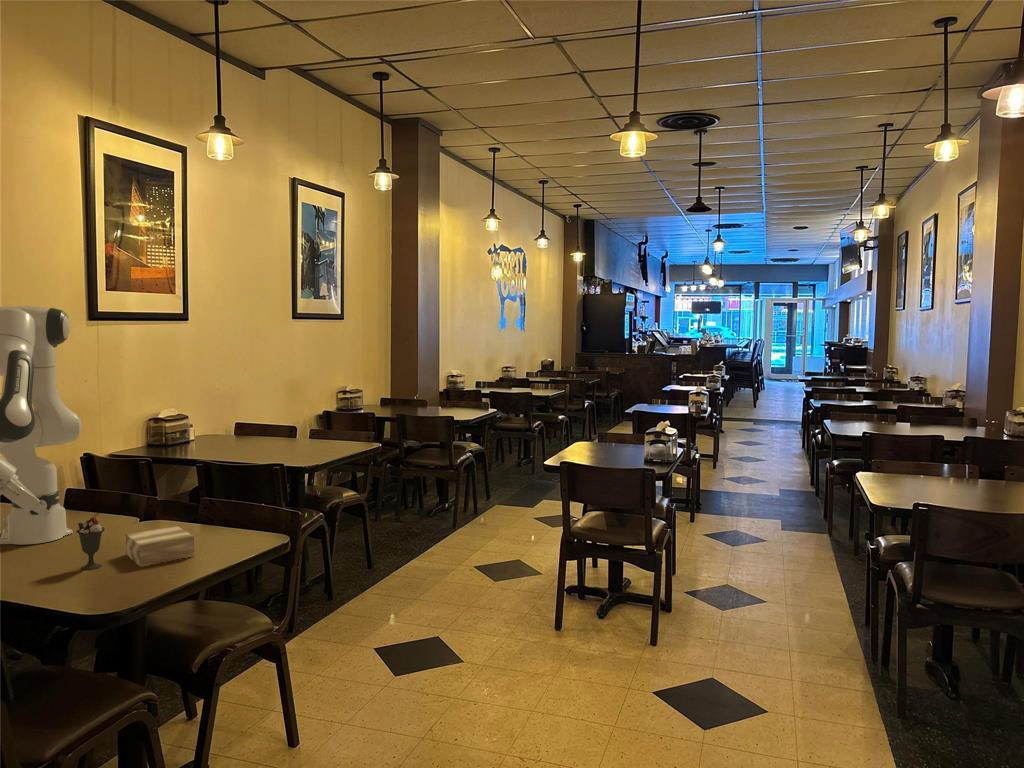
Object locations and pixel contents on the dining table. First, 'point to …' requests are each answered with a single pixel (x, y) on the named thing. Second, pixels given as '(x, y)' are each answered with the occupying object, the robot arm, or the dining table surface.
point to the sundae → (90, 540)
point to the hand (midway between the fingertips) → (43, 510)
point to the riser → (159, 545)
